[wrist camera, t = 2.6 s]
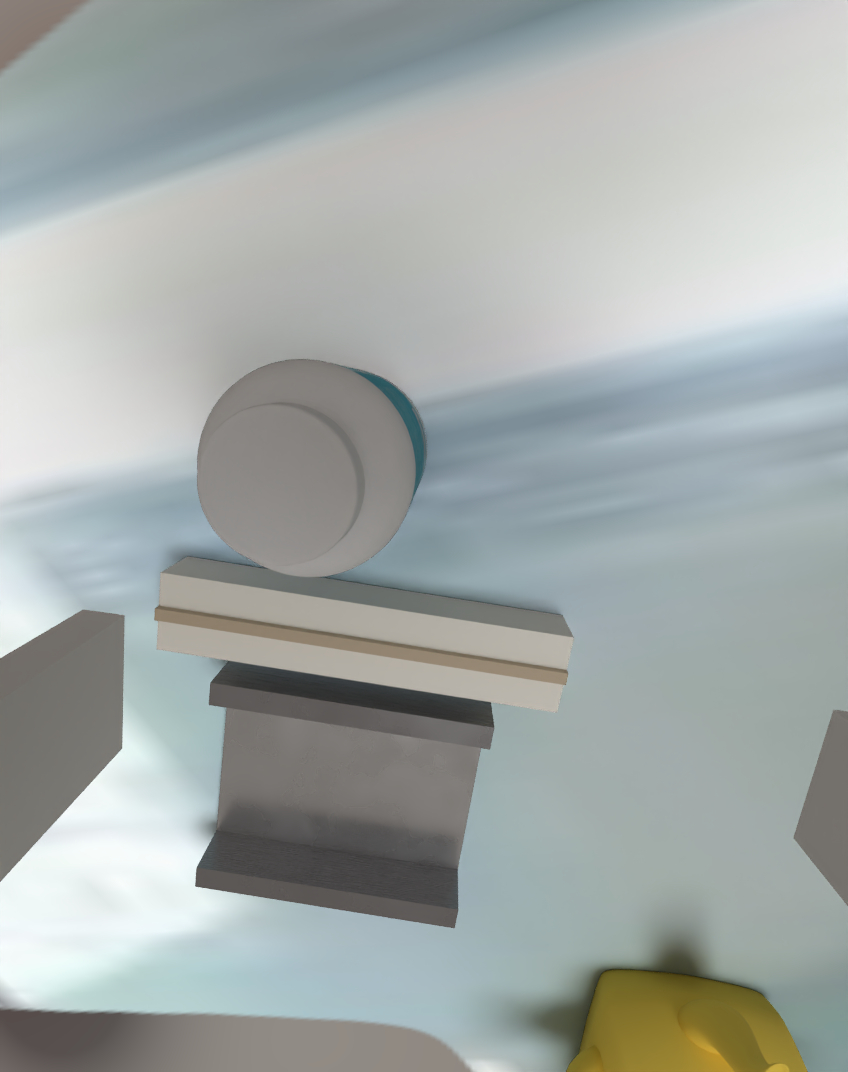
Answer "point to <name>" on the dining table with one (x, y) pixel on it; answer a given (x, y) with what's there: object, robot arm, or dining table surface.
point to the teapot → (682, 1027)
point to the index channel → (343, 792)
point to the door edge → (364, 633)
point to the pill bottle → (310, 466)
